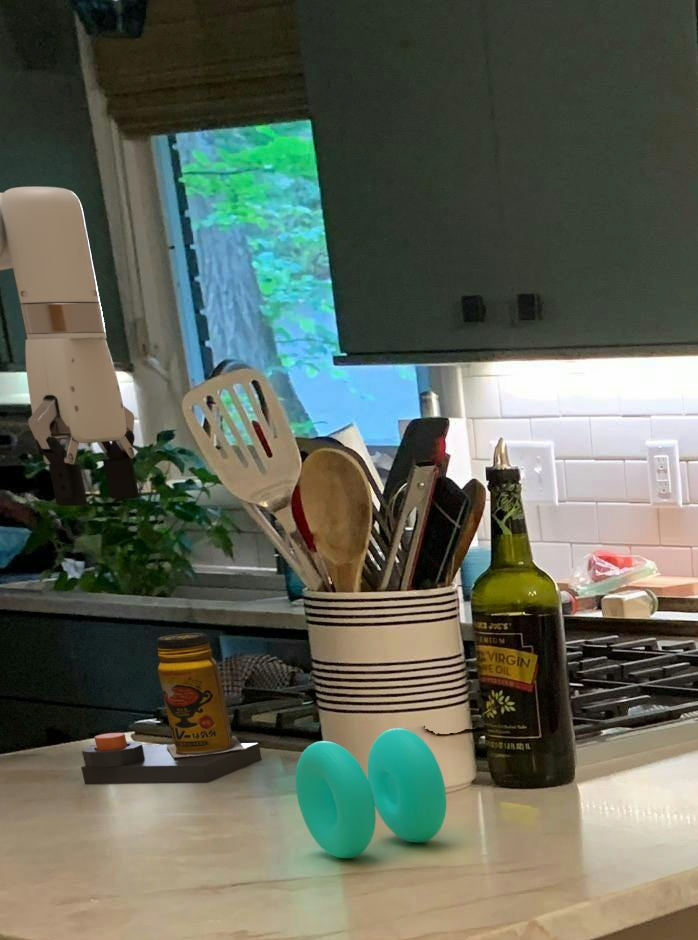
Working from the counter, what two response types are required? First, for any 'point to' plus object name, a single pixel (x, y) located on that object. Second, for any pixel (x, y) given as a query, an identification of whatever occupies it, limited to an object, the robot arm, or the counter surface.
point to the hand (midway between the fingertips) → (99, 501)
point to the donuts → (370, 792)
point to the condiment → (194, 696)
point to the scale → (161, 764)
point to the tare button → (110, 741)
